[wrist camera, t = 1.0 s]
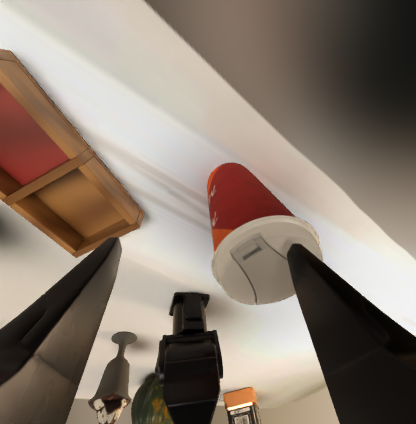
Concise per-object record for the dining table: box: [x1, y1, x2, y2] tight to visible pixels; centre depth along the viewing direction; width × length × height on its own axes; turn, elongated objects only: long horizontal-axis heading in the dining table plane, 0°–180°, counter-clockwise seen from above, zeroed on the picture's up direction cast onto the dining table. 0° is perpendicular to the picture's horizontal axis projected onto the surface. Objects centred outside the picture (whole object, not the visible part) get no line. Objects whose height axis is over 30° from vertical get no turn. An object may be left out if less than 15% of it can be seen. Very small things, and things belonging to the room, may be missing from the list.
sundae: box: [88, 332, 137, 424], centre depth 35 cm, size 7×7×15 cm
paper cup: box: [207, 163, 323, 305], centre depth 19 cm, size 8×8×14 cm
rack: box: [0, 49, 144, 258], centre depth 20 cm, size 18×9×3 cm, turn 25°
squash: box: [131, 376, 173, 424], centre depth 50 cm, size 14×15×15 cm
